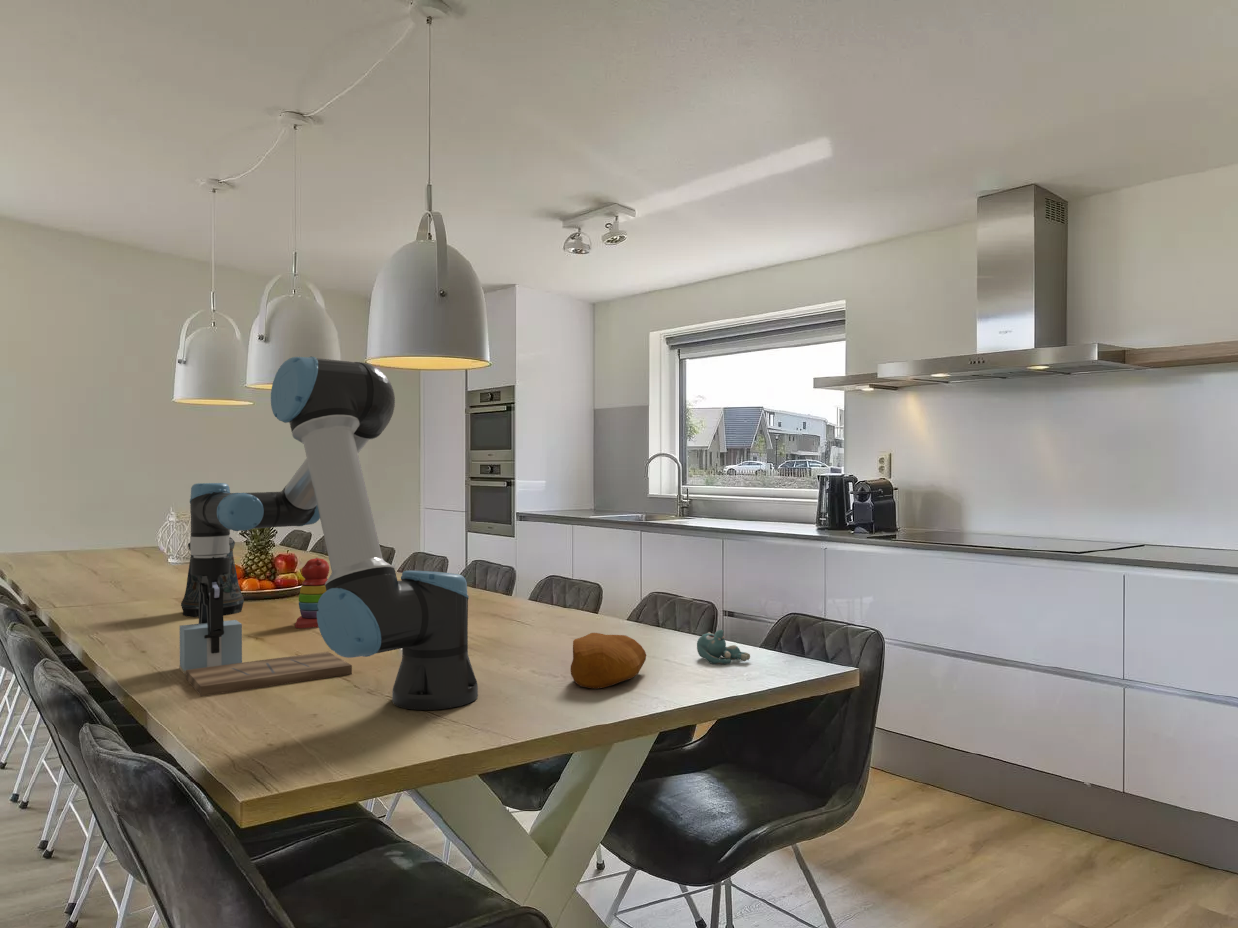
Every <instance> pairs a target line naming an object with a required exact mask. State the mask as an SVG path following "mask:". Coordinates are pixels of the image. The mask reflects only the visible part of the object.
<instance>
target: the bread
mask: <svg viewBox="0 0 1238 928" xmlns="http://www.w3.org/2000/svg"><path fill="white" fill-rule="evenodd" d="M646 660H647V653H646V650H645V649H644V648H643V646H642V645H641V644H640V643H639V642H638V641H637V640H636V639H633V638H632V637H629V636H628V635H624V634H605V633H600V632H590V633H588V634H585V635H584V636H581V637H578V638H575V639H573V640H572V661H571V664H570V675H571V677H572V679H573V681H574V682H575V683H576V685H578V686H580V687H582V688H589V689H604V688H608V687H611V686H614V685H616V684H619V683H621V682H624V681H627V680H630V679H633V678H634V677H635V676H636V675H638V674H639V673H640V671H641V669H642V667H643V665H644V664H645V662H646Z"/></svg>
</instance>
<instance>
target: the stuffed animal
mask: <svg viewBox="0 0 1238 928" xmlns="http://www.w3.org/2000/svg"><path fill="white" fill-rule="evenodd" d="M724 632H725V631H724V630H723V629H718V630H717V631H715V632H714V633H711V632H710V631H708V632H706V633H704V634H702V635H701V636H699V638H698V639H697V642H696V650H697V653H698V656H699V657H701V658H702V659H705V660H706V661H707V662H708V663H709V664H712V665H719V666H722V665H723V666H724V665H726V664H727V665H728V664H731V663H732V662H731V661H734V660H735V661H736V660H740V661H742V662H747V661H749V660H750V659H751V653H749V652H744V651H741V650H740V647H738V646H737V645H735V644H732V645H729V646H727V643H726V639H725V638H726V637H725V636H724ZM721 657H722V658H721Z"/></svg>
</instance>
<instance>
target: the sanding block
mask: <svg viewBox="0 0 1238 928" xmlns="http://www.w3.org/2000/svg"><path fill="white" fill-rule="evenodd" d="M223 623H224V634H223V635H222V637H221V647H222V665H228V664H236V663H243V624H242V623H241V622H240V621H238V620H237V619H231V620H223ZM216 630H218V629H216ZM205 635H208V626H207V623H200V624H198V623H193V624H192V623H191V624H183V625H179V670H180V671H181V672H182V673H183V674H184V675H186V670H189V669H197V668H205V667H207V638H204V636H205Z"/></svg>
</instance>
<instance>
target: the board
mask: <svg viewBox="0 0 1238 928" xmlns="http://www.w3.org/2000/svg"><path fill="white" fill-rule="evenodd" d="M352 667H353V666H352V664H351V663H349V662H347V661H345V660H344V659H342V658H340V657H338V656H336V655H335V654H333V653H332V652H330V651H324V652H313V653H307V654H298V655H291V656H284V657H276V658H269V659H268V658H267V659H262V660H261V659H260V660H254V661H253V660H252V661H245V662H242V663H236V664H228V665H220V666H213V667H205V668H197V669H189V670H186V674H185V679H186V681H187V682H188V683H189V684H190V685H191V687H193V689H194V690H195V691H196V692H197V694H199V696H200V697H203V696H209V695H210V696H212V695H218V694H225V693H232V692H237V691H244V690H251V689H259V688H265V687H273V686H279V685H287V684H292V683H300V682H307V681H314V680H319V679H320V680H321V679H327V678H334V677H340V676H341V677H343V676H347V675H352V673H353V668H352Z"/></svg>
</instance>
